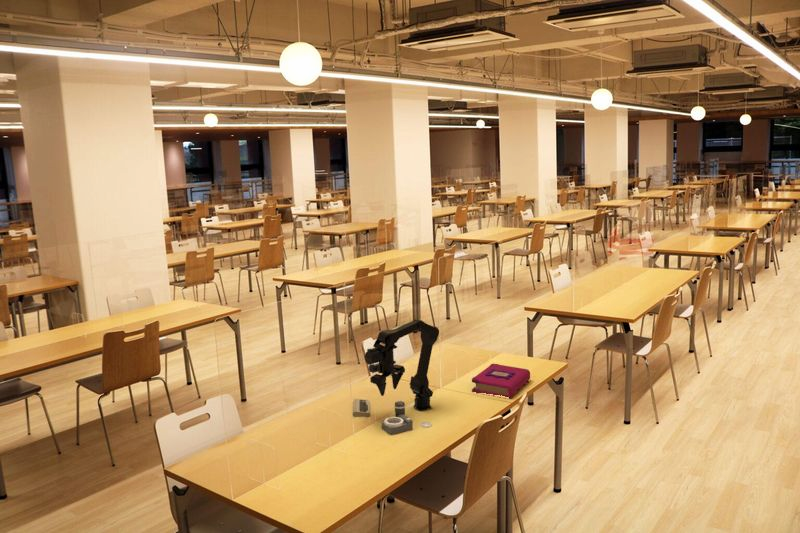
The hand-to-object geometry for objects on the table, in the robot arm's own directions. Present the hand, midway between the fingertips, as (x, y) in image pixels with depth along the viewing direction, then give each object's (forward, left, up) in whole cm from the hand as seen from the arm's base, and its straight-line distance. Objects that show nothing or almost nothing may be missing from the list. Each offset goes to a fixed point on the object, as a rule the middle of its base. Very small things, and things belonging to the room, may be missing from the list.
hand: (388, 392), depth 306 cm
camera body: (+2, +12, -12) cm, 17 cm away
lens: (-5, +2, -12) cm, 13 cm away
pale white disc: (-11, +15, -13) cm, 22 cm away
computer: (+6, -15, -13) cm, 21 cm away
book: (-68, -6, -13) cm, 69 cm away
